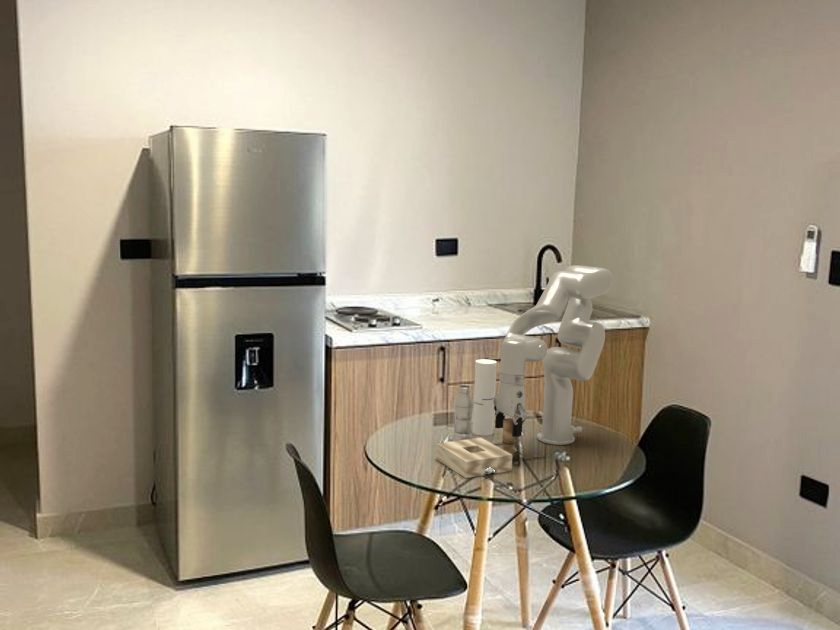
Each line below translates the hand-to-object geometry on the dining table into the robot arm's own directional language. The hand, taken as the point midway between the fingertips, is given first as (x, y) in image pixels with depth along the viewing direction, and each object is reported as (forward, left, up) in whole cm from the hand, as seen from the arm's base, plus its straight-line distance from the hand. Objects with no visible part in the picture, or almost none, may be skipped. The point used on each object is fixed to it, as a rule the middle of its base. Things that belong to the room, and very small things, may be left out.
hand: (508, 432), depth 267 cm
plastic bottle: (+7, -15, -9) cm, 19 cm away
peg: (-1, 0, -8) cm, 8 cm away
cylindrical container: (-7, -25, -9) cm, 27 cm away
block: (+13, +2, -8) cm, 16 cm away
